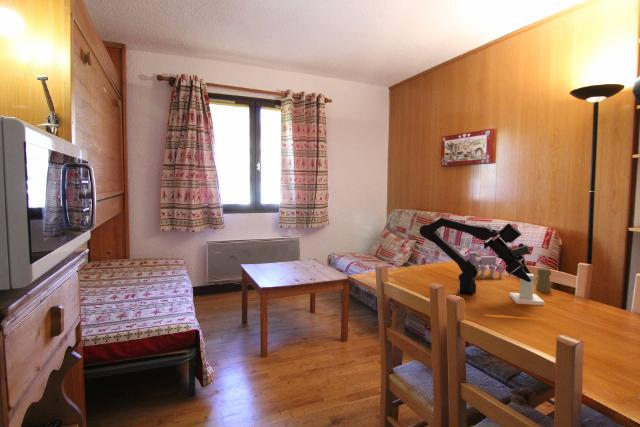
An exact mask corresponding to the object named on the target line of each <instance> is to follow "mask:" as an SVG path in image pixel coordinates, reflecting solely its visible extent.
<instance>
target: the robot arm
mask: <svg viewBox="0 0 640 427" xmlns="http://www.w3.org/2000/svg"><path fill="white" fill-rule="evenodd" d="M442 227H444V228H448V229H451V230H455V231H459V232H462V233H466V234H469V235H471V236H472V237H474V238H476V239H478V240H481V241H484V242H483V249H484V250H485V249H486V250H487V248H490V249H491V251H493V252H494V254H495V255H497V258H498V259H500V260H501V261H503V263H504V264H505V268H504V269H505V270H504V271H505V272H506V273H507V274H508V275H511V276H514V277H516V278H518V279H520V278H521V279H523V280H525V281H527V282H531V279H530V278H529V277H528V275H527V274H526V273H528V274H532V273H531V271H530V270H529V268H528V267H527V265H526V258H525V255H530V254H531V250H530V248H529V246H528V244H524V243H522V242H521V243H519V244H518V246H517V247H516V248H513V247H511V246H508V245H507V243H509V244H512V243H514V242H515V241H516V240H517V239H518V238H519V237H522V235H523V234H522V232H521V231H520V230H519V229H518V228H517V227H515V226H514V225H512V224H511V223H510V222H509V223H507V224H506V225H505V226H504V227H503V228H501V229H499V230H498V229H492V227H490V226H489V225H480V224H479V225H477V224H475V225H474V224H469V223H466V222H462V221H458V220H453V219H451V218H447V217H444V216H443V217H440V218H438V219H437V220H435V221H433V222H431V223H427V224H423V225H421V226H420V228H419V235H420V236H421V237H422V238H424V239H425V240H427V241H429V242H432V243H434V244H435V245H436V246H437V247H438V248H439V249H440V250H441V251H443V252H444V253H445V255H446V256H448V257H449V258H450V259H451V260H452V261H453V262H455V264H457V266H458V268H459V270H460V271H461V272H460V274H459V275H458V276H457V277H458V289H457V291H458V293H459V294H460V295H471V296H473V295H474V293H477V283H476V280H475V279H474V278H476V277H477V276H478V274H479V273H480V272H481V269H480V265H477V264H478V263H476V262H475V261H474V260H473V259H472V258H471V257H470V258H469V259H467V258H465V257H463V256H464V255H462V254H461V253H460V252H459V251H458V250H457V249H456V248H455V247H453V246H452V245H451V244H450V243H449V242H448V241H447V240H446V239H445V238H444V237H442V236H441V234H440V233H439V231H438V230H439V229H441V228H442Z"/></svg>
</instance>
